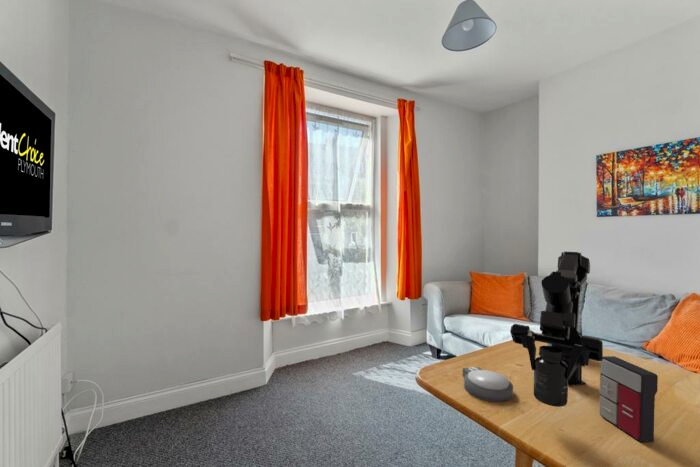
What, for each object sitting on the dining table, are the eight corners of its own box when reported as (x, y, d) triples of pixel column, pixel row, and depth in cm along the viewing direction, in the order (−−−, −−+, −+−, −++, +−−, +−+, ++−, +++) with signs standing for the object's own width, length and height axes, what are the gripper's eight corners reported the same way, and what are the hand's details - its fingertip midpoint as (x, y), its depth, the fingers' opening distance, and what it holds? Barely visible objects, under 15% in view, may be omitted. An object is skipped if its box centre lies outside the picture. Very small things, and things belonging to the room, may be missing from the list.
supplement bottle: (573, 409, 71) (574, 356, 71) (539, 405, 73) (540, 353, 73) (560, 394, 78) (561, 345, 78) (529, 391, 80) (530, 342, 80)
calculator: (596, 414, 82) (597, 355, 82) (612, 414, 82) (613, 355, 82) (638, 443, 71) (640, 375, 71) (656, 442, 71) (658, 374, 71)
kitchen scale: (489, 374, 104) (489, 363, 104) (523, 400, 88) (523, 387, 88) (451, 376, 102) (451, 365, 102) (479, 403, 86) (479, 390, 86)
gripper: (512, 292, 84) (499, 346, 76) (603, 303, 72) (599, 368, 64) (519, 316, 90) (508, 368, 82) (604, 330, 78) (600, 393, 70)
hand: (549, 373), depth 74 cm, fingers closed on supplement bottle, 7 cm apart
